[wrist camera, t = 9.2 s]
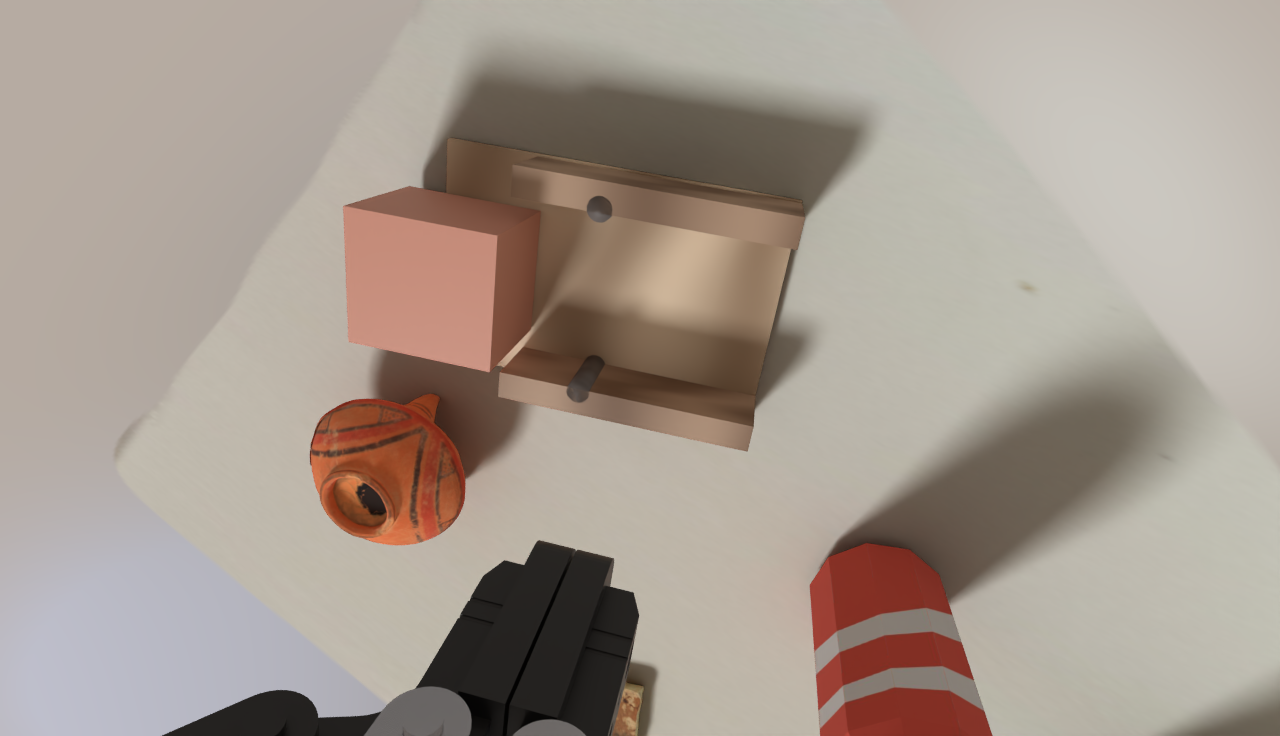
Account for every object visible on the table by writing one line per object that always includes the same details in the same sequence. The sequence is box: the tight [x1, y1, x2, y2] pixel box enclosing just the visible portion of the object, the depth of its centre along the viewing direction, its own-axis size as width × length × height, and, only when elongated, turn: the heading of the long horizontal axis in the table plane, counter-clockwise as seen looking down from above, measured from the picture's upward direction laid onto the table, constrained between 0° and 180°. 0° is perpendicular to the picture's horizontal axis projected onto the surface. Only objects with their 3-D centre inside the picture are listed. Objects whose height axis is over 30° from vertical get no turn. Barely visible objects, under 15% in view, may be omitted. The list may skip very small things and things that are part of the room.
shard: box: [612, 683, 644, 736], centre depth 41 cm, size 11×8×2 cm
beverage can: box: [810, 543, 992, 736], centre depth 29 cm, size 6×6×12 cm
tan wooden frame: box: [446, 138, 805, 451], centre depth 29 cm, size 15×10×4 cm, turn 82°
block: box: [343, 186, 541, 372], centre depth 28 cm, size 6×6×5 cm
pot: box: [310, 394, 465, 545], centre depth 33 cm, size 8×8×7 cm
